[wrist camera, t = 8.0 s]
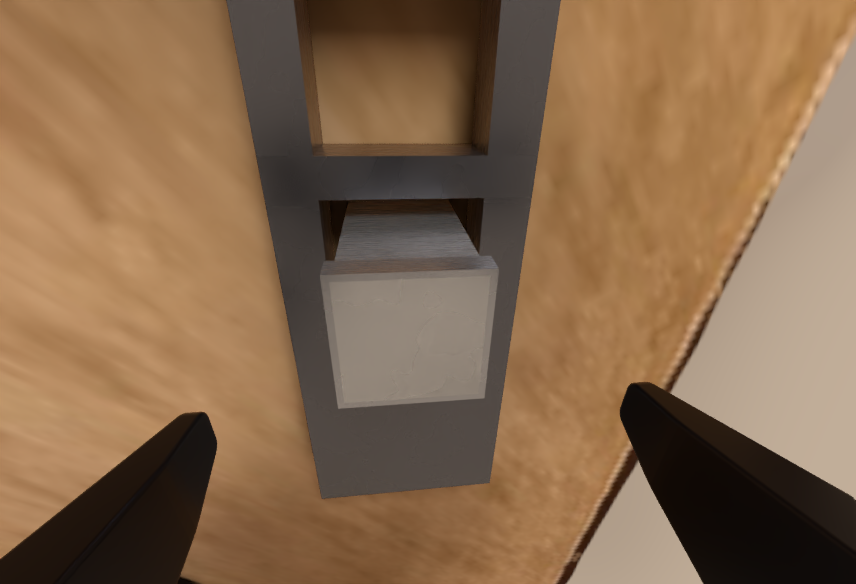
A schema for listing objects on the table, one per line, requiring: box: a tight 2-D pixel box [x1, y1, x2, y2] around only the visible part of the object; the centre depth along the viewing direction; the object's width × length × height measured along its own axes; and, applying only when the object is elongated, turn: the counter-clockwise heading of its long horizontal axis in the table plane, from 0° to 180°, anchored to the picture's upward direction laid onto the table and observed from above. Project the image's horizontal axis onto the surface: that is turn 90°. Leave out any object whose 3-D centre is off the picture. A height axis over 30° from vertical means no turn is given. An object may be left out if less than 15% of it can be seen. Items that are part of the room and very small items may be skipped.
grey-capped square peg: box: [320, 199, 499, 409], centre depth 14 cm, size 4×4×7 cm
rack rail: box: [226, 0, 561, 499], centre depth 16 cm, size 26×9×2 cm, turn 179°
